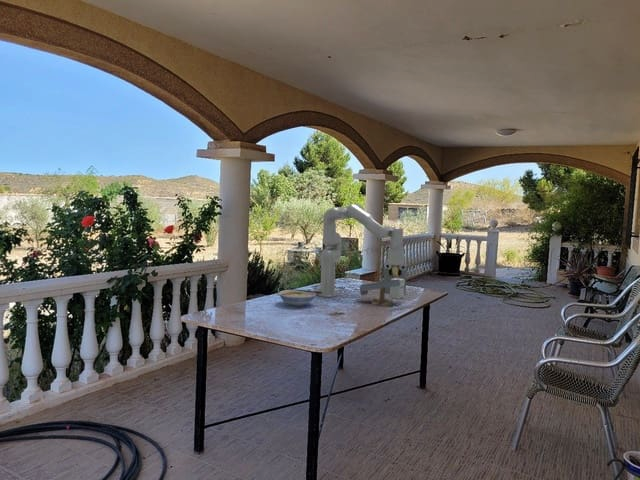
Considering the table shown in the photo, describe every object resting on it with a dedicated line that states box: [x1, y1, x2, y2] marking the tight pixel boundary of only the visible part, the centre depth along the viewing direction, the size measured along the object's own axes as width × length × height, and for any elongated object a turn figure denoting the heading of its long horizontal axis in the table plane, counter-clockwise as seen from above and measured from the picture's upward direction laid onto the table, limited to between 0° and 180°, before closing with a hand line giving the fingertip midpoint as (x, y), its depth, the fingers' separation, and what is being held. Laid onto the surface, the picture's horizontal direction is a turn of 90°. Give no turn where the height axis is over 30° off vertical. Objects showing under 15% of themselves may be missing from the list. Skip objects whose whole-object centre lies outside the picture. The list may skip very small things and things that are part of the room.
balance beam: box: [359, 279, 400, 296], centre depth 292 cm, size 25×10×5 cm, turn 80°
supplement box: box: [389, 278, 405, 300], centre depth 311 cm, size 7×7×13 cm
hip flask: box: [383, 267, 408, 295], centre depth 326 cm, size 16×4×20 cm, turn 69°
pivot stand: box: [371, 287, 393, 308], centre depth 292 cm, size 12×18×11 cm, turn 170°
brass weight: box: [391, 265, 400, 277], centre depth 290 cm, size 5×5×7 cm
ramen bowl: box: [278, 288, 322, 307], centre depth 279 cm, size 25×23×8 cm
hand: (394, 275), depth 290 cm, fingers closed on brass weight, 5 cm apart
